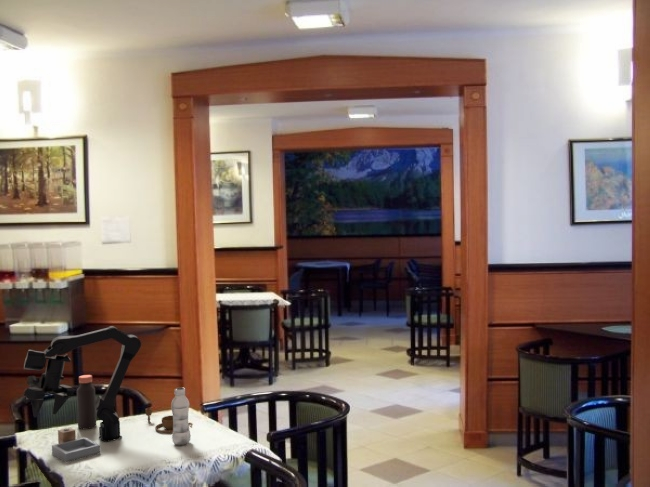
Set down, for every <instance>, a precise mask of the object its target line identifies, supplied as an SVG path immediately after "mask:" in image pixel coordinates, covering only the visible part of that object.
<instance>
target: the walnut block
mask: <svg viewBox="0 0 650 487" xmlns="http://www.w3.org/2000/svg"><path fill="white" fill-rule="evenodd" d="M76 432H77V431H76V429H74V428H72V427H66V428H60V429H58V430H57V438H58V439H57V441H58V443H57V444H60V443H64V442H68V441H72V440H76V439H77V438H76V436H77V434H76Z"/></svg>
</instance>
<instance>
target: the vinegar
mask: <svg viewBox="0 0 650 487" xmlns="http://www.w3.org/2000/svg"><path fill="white" fill-rule="evenodd" d="M92 383H93V375H92V374H83V375H80V376H78V384H79V387H78V388H77V389H76V404H77V405H76V406H77V410H76V411H77V427H78V428H79V429H80V430H88V429H89V430H90V429H93V428H95V427H96V426H97V415H96V412H95V406H94V405H95V403H96V402H97V400H96V387H95V386H93V384H92Z"/></svg>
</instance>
